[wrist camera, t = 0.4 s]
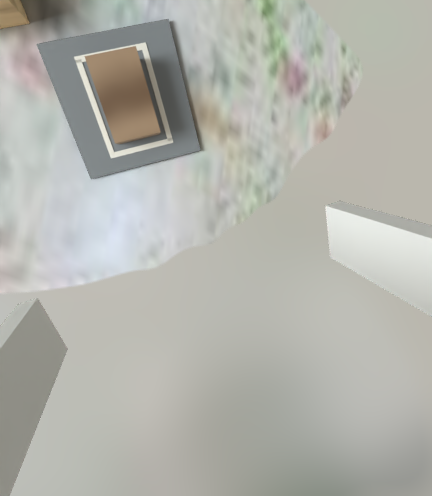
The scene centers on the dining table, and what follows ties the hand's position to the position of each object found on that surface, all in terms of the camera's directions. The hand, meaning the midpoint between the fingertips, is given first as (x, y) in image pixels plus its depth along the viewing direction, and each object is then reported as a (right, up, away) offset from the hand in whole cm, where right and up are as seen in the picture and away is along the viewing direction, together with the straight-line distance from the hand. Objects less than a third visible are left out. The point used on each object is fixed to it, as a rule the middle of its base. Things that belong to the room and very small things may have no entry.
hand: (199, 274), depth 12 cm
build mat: (-10, +18, +20) cm, 29 cm away
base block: (-10, +18, +19) cm, 28 cm away
